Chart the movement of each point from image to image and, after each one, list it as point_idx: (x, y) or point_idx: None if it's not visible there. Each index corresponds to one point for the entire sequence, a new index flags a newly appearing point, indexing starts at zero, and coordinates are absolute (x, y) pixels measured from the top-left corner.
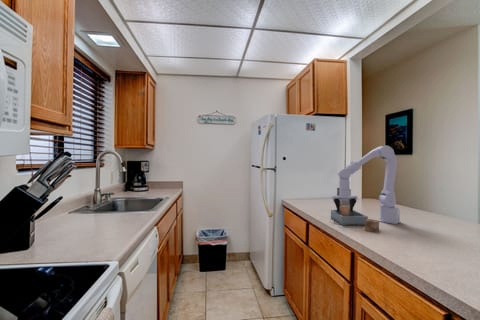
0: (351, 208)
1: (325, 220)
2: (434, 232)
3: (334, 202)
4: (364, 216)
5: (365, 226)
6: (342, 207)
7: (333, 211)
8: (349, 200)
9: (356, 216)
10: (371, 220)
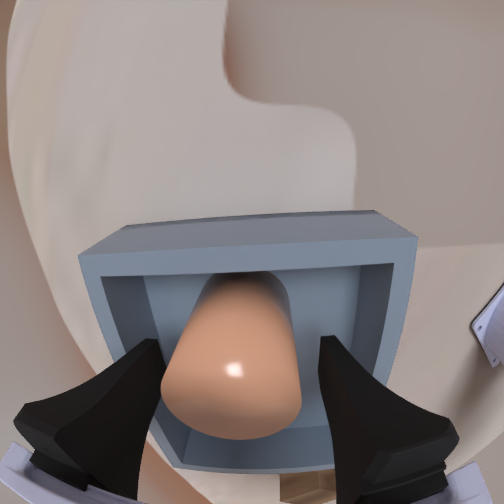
0: (325, 401)
1: (87, 315)
2: (490, 420)
3: (59, 400)
4: (331, 468)
5: (281, 479)
6: (191, 421)
7: (107, 344)
8: (366, 452)
9: (274, 473)
10: (316, 497)
